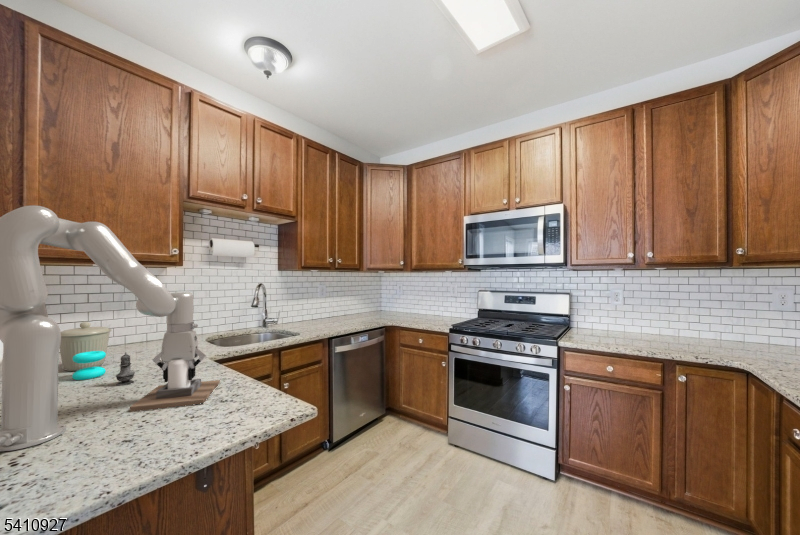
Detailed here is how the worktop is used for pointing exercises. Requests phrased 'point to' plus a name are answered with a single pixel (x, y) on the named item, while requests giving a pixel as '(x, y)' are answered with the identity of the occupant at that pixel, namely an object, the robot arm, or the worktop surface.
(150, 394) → the socket board
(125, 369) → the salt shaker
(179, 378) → the can
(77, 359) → the donuts
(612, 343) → the worktop surface
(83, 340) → the canister
